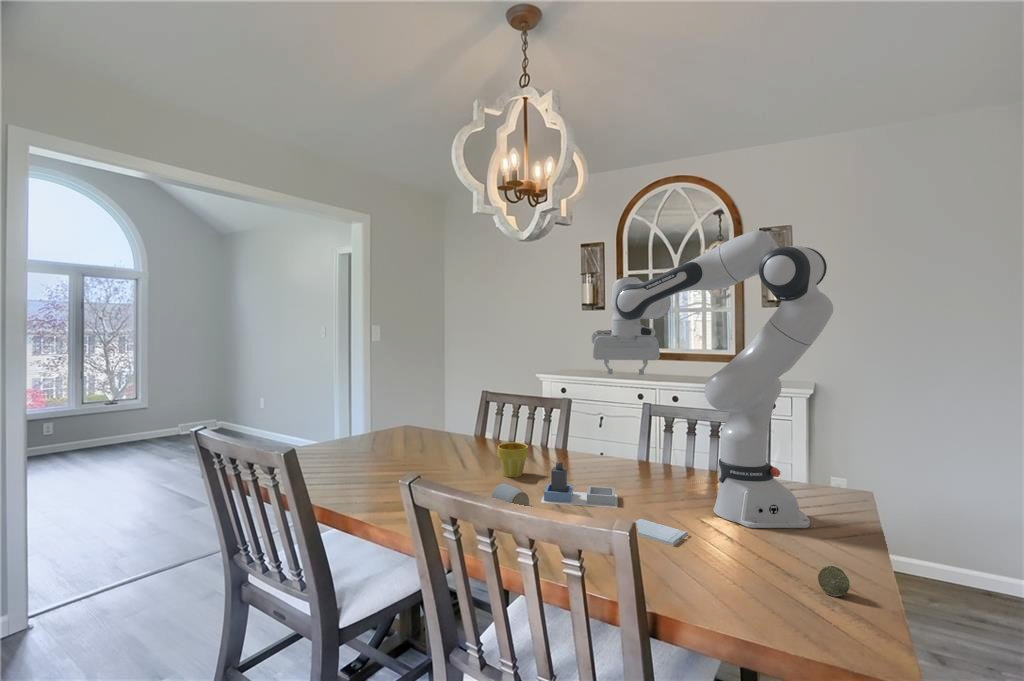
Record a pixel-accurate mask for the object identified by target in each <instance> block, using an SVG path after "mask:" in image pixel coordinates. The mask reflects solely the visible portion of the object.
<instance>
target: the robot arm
mask: <svg viewBox="0 0 1024 681" xmlns="http://www.w3.org/2000/svg"><path fill="white" fill-rule="evenodd" d="M827 268H828V267H827V261H826V259H825V257H824V256H823V254H821V253H820V252H819V251H817V250H816V249H814V248H810V247H806V246H805V247H804V246H801V245H789V246H780V247H779V245H777V243H776V241H775V240H774V238H773V237H772V236H771V235H770V234H769V233H768V232H766V231H764V230H759V229H758V230H753V231H749V232H746V233H743V234H740V235H738V236H735V237H733V238H731V239H729V240H727V241H725V242H723V243H720V244H718V245H717V246H715V247H713V248H712V249H710V250H708V251H706V252H704V253H703V254H700V255H699V256H696V257H695V258H693V259H692V260H690V261H687V262H686V263H684V264H683V263H682V265H679V266H678V267H675V268H673V269H669V270H668V271H666V272H664V273H661V274H660V275H657V276H655V277H652V278H651V279H649V280H647V281H642V280H641V279H639V277H637V276H624V277H621V278H618V279H616V280H615V281H614V282H613V285H612V289H611V299H610V300H611V303H610V305H611V310H612V315H611V316H612V317H611V319H610V320H611V323H610V325H611V326H610V327H611V328H610V329H606V330H602V329H601V330H599V329H598V330H596V331H595V332H594V331H593V333H592V334H591V343H592V344H593V347H592V358H593V359H594V360H595V361H603V363H604V366H605V367H606V369H607V375H608V376H609V375H611V376H612V375H613V371H614V370H613V368H611V367H610V366H609V362H610V361H642V364H643V366H642V368H638V375H639V376H644V375H645V369H646V368H647V366H648V363H649V361H658V360H659V359H660V357H661V355H660V345H659V341H658V339H657V337H655V335H656V329H654V328H653V327H648V326H647V325H643V324H642V323H641V320H656V319H660V318H662V317H665V316H666V315H667V314H668V312H669V311H670V308H671V297H672V296H673V295H677V294H679V293H684V292H689V291H716V290H717V291H718V290H723V289H724V288H728V287H732V286H734V285H736V284H739V283H742V282H743V281H745V280H748V279H750V278H752V277H755V276H757V275H758V276H759V279H760V280H761V282H762V284H763V285H764V286H765V287H766V288H767V289H768V290H769V292H771V294H772V295H773V296H774V297H775V299H777V300H778V301H780V304H779V306H778V308H777V309H775V310H776V311H775V312H774V313H773V314H772V315H771V317H770V318H769V319H768V321H767V322H766V323H765V324H764V325H763V327H762V328H761V329H760V331H759V332H758V333H757V334H756V335H755V337H754V338H753V339H752V340H751V342H750V343H749V344H748V345H746V347H745V348H744V349H742V350H741V351H740V352H739V353H738V354H737V355H736V356H734V357H733V358H732V359H731V360H730V361H729V362H728V363H727V364H725V365H724V366H723V367H722V368H721V369H720V370H718V371H717V372H715V373H714V374H712V375H711V376H709V378H707V380H706V382H705V384H704V396H705V398H706V400H707V402H708V404H709V405H710V406H712V408H714V409H716V410H719V411H723V412H729V413H728V416H727V419H726V421H725V423H724V424H723V426H722V427H721V431H720V458H719V459H718V464H717V477H718V480H719V482H718V483H719V484H718V489H717V490H718V491H717V494H716V495H717V496H716V501H715V504H714V507H713V509H712V510H713V513H714V514H716V515H717V516H718V517H721V518H722V519H724V520H727V521H730V522H734V523H737V524H740V525H742V526H744V527H746V528H751V529H759V528H760V529H808V528H809V527H810V525H811V524H810V523H811V522H810V519H809V517H808V516H807V515H806V513H804V512H803V511H801V510H800V506H799V502H798V500H797V498H796V496H795V494H794V493H793V492H792V491H790V490H789V489H788V488H787V487H786V486H784V485H783V484H782V483H781V482H780V481H778V480H777V479H776V478H778V477H780V476H781V474H782V472H781V471H780V470H779V468H777V467H774V466H773V465H772V464H769V463H768V462H767V441H768V440H767V439H768V431H769V426H770V422H771V418H772V415H773V410H774V407H775V404H776V402H777V400H778V398H779V397H780V395H781V392H782V382H781V379H780V377H781V376H783V375H784V374H785V373H787V372H789V371H791V369H792V368H793V367H794V366H795V365H796V364H797V362H798V361H799V360H800V359H801V358H802V357H803V356H804V354H805V353H806V352H807V351H808V349H809V348H811V346H812V345H813V344H814V343H815V341H816V340H817V339H818V337H819V336H820V335H821V333H822V332H823V331H824V329H825V327H826V326H827V325H828V322H829V321H830V319H831V317H832V315H833V312H834V304H833V302H832V301H831V299H830V298H829V297H828V296H827V295H826V294H825V293H823V292H822V291H820V290H819V288H818V285H819V284H820V283H821V282H822V281H823V280H824V278H825V276H826V274H827ZM774 477H775V478H774Z"/></svg>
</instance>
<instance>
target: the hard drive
mask: <svg viewBox="0 0 1024 681" xmlns="http://www.w3.org/2000/svg"><path fill="white" fill-rule="evenodd" d="M634 522H636V523H637V528H638V537H640V538H644V539H648V540H650V541H654V542H657V543H661V544H664V545H668V546H671V547H675V546H676V545H677V544H679V543H680V542H681V541H682V540H683V539H685V538H687V537H688V536H689V532H688V531H684V530H683V531H682V530H681V529H677V528H674V527H671V526H667V525H663V524H659V523H658V522H653V521H650V520H646V519H643V518H639V519H637V520H635V521H634Z"/></svg>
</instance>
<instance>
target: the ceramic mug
mask: <svg viewBox="0 0 1024 681" xmlns="http://www.w3.org/2000/svg"><path fill="white" fill-rule="evenodd" d="M491 497H492V498H496V499H500V500H503V501H506V502H509V503H514V504H519V505H524V506H531V507H533V505H532V504H530V498H529V495H528V494H527V493H526V492H524V491H523V490H522V489H519V488H516V487H514V486H512V485H509V484H507V483H504V482H503V483H500V484H498V485H497V486H496V487H495V488H494V489H493V491H492V493H491V496H490V498H491Z"/></svg>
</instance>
